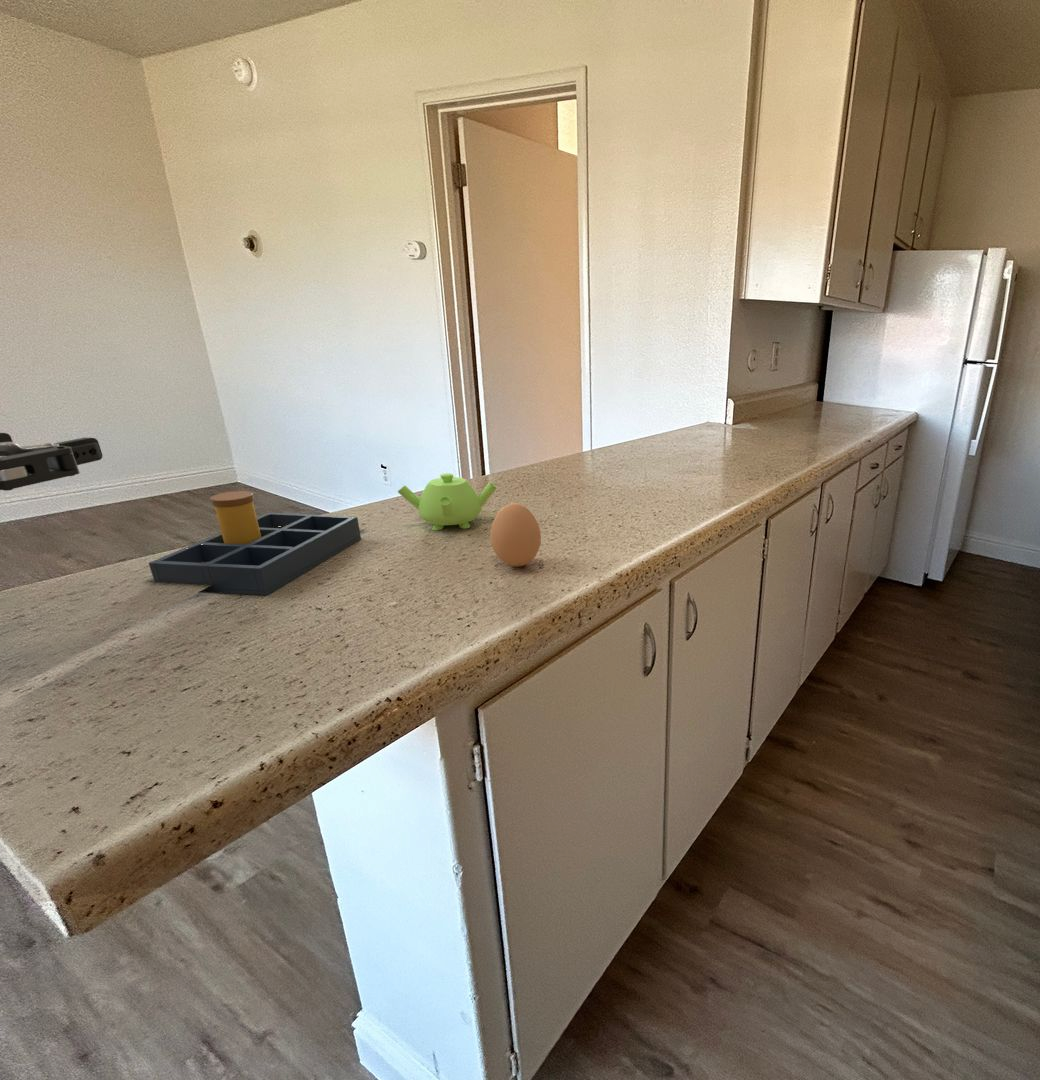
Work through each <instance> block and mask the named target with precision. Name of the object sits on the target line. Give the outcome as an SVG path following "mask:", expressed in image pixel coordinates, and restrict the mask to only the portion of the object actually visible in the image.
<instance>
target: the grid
mask: <svg viewBox="0 0 1040 1080" xmlns="http://www.w3.org/2000/svg"><path fill="white" fill-rule="evenodd" d="M256 517H257V521H258V525H259V529H260V533H261V538H259V539H257V540H255V541H253V542H250V543H248V544H229V543H224V540H223V537H222V533H221V532H219V533H216V534H214V535H211V536H209V537H207V538H204V539H202V540H200V541H197V542H195V543H192V544H190V545H188V546H185V547H183V548H181V549H178V550H176V551H173V552H171V553H169V554H167V555H164V556H162V557H160V558H157V559H154V560H152V561H150V562H148V566H149V569H150V573H151V576H152V579H153V581H154V582H156V583H157V582H158V583H159V582H160V583H161V582H162V583H177V584H179V583H181V584H199V585H209V586H207V587H205V588H203V589H201V590H200V591H198V593H211V594H231V595H250V596H251V595H252V596H255V595H256V596H268V595H270V594H272V593H273V592H275V591H277V590H278V589H280V588H282V587H284V586H285V585H287V584H288V583H291V581H294V580H295V579H297V578H299V577H300V576H302V575H304V574H305V573H307V572H309V571H310V570H312V569H313V568H316V567H317V566H319V565H320V564H322V563H324V562H325V561H326V559H327V560H328V559H330V558H332V557H333V556H335V555H337V554H339V553H340V552H342V551H343V549H344V550H345V549H347V548H349V547H351V546H352V545H354V544H355V543H357V542H359V541H360V540H362V536H361V529H360V524H359V519H358V516H347V515H330V514H329V515H327V514H313V513H312V514H311V513H310V514H309V513H291V512H290V513H289V512H288V513H287V512H265V513H264V514H262V515H258V516H256ZM278 526H281V527H278ZM358 540H359V541H358ZM356 541H357V542H356ZM353 543H354V544H353ZM201 544H203V545H201ZM348 546H349V547H348ZM346 547H347V548H346ZM186 548H188V549H186ZM331 556H332V557H331ZM329 557H330V558H329ZM324 560H325V561H324ZM321 562H322V563H321ZM319 563H320V564H319ZM316 565H317V566H316Z"/></svg>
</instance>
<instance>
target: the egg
mask: <svg viewBox="0 0 1040 1080" xmlns="http://www.w3.org/2000/svg"><path fill="white" fill-rule="evenodd" d="M493 519H494V520H493V521H492V523H491V529H490V543H491V547H492V550H493V553H494V554H495V556H496V557H497V558H498V559H499V560H500V561H502V562H503V563H504V564H506V565H507V566H510V567H514V568H515V567H516V568H518V567H524V566H526V565H528V564H529V563H530V562H532V561H533V559H534V558H535V557H536V556H537V554H538V553H539V550H540V548H541V544H542V534H541V528H540V524H539V522H538V521H537V518H536V517H535V515H534V514H533V513H532V511H531V510H530V509H529V508H527V507H526V506H525V505H523V504H520V503H516V502H513V503H512V502H511V503H509V504H506V505H504V506H503V507H501V509H499V510H498V512H497V513H496V515H495V517H494V518H493Z"/></svg>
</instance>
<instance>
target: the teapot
mask: <svg viewBox="0 0 1040 1080" xmlns="http://www.w3.org/2000/svg"><path fill="white" fill-rule="evenodd" d="M497 489H498V486H497V485H495V484H494V483H493V482H488V483H487V485H486V486H485V487H484V489H483V490H482V491H481V493H480V494H479V495H478V492H477V491H476V490H475V488H474V487H473V486H472V485H471V483H470V482H469V481H467V479H465V478H463V477H457V476H456V477H455V476H454V473H450V472H445V473H441V474H440V477H438V478H434V479H431V480H429V482H427V484H426V485H425V487H424V488H423V491H422V493H421V495H420V497H419V496H418V495H416V494H415V493H414V492H413V491H412V490H411V489H410V488H409V487H408V486H407V485H403V486H402V487H400V488H399V489H398V490H397V493H398V494H399V495H400V496H401V497H403V498H404V499H405V500H406V501H407V502H408V503H410V505H412V506H413V507H414V508H415V509H416V510H418V514H419V516H420V517H421V519H423V520H424V521H425V522H426V523H428V524H430V525H432V527H431V530H433V531H440V530H444V527H445V526H454V525H456V526H457V525H458V527H459V529H469V528H471V525H470V522H472V521H474V520H476V519H477V517H479V515H480V514H481V512H482V510H483V507H484V505H485V504H486V502H488V500H489V499H490V498H491V497H492V495H493V494H494V493H495V491H496V490H497Z"/></svg>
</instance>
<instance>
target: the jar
mask: <svg viewBox="0 0 1040 1080" xmlns="http://www.w3.org/2000/svg"><path fill="white" fill-rule="evenodd" d="M209 498H210V502H211V505H212V506H213V507H214V510H215V514H216V518H217V521H218V525H219V529H220V533H222V537H223V540H224V543H229V544H248V543H250V542H253V541H255V540H257V539H259V538H261V533H260V529H259V525H258V521H257V517H258V516H257V512H256V508H255V505H254V501H255V497H254V493H253V492H251V491H247V490H235V491H234V490H233V491H227V492H221V493H217V494H214V495H212V496H211V497H209Z"/></svg>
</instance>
